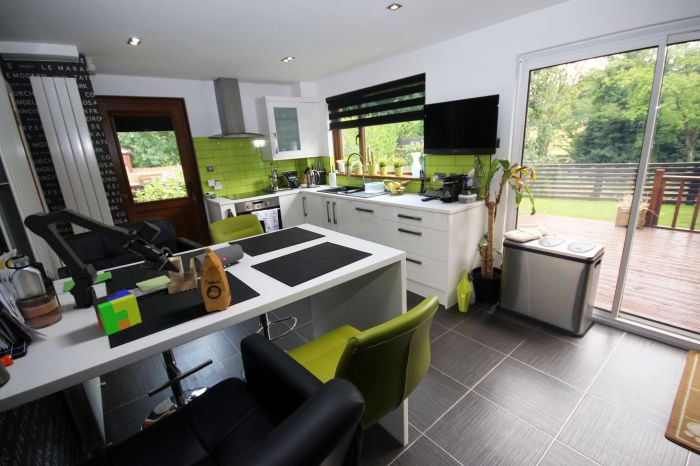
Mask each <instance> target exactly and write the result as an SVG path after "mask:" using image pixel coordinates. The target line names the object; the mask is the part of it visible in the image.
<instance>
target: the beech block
mask: <svg viewBox="0 0 700 466" xmlns="http://www.w3.org/2000/svg"><path fill="white" fill-rule="evenodd" d="M169 259H170V261H171V262H172V263H173V264H174V265H175V266H176V267H177V268H178V269H179V271H180V272H179V273H175V272H171V271H168V275H169V279H170V280H171V284H174V283H180V282H185V276H184V266H183V262H182V257H181V255H179V256H174V257H172V258H169Z"/></svg>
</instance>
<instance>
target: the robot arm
mask: <svg viewBox="0 0 700 466" xmlns="http://www.w3.org/2000/svg"><path fill="white" fill-rule="evenodd" d="M60 222H61V223H62V222H68V223H71V224H73V225H75V226H78V227H81V228H83V229H85V230H88V231H90V232H93V233H96V234H98V235H100V236H102V237H103V238H105V239H106V240H107V241H109V242H111V243H112V244H114V245H116V246H122V245H123V246H122V247H121V248H122V250H123V254H127V253H128V252H129V251H131V252H133V253H135V255H138V256H140V257H141V260H143V261H144V262H143V265H140V266H139V268H138V272H139V273H140V274H142V275H151V274H150V273H151V272H153V273H156V274H158V272H161V271H167V272H169V271H171V272H175V273H179V272H180V271H179V269H178V268H177V267H176V266H175V265H174V264H173V263H172V262H171V261H170V259H169V258H172V257H175V256H174V254H173V253H172V251H170V249H171V248H169V247H167V246H165V247H164V246H163V247H162V248H161V249H159V248H157V247H155V245H154V244H153V243H152V244H150V243H148V242H153V240H154V239H155V238H156V237H157V236H158V235H159V234H160V233H161V230H162V229H160V227H158V225H156V224H153V223H150V222H147V221H145V220H144V221H143V223H142V224H141V226H140V227H139V229H131V230H130V229H127V228H124V227H120V226H118V225H117V226H116V225H111V224H106V223H103V222H101V221H100V220H99V221H98V220H96V219H94V218H92V217H89V216H87V215H84V214H82V213H80V212H77V211H75V210H73V209H71V208H64V209H62V210H57V211H56V210H53V211H51V212H44V211H37V212H35V213H32V214H30V215H27V216H26V217H25V218H24V220H23V225H24V226H25V227H26V229H28V230H29V231H30V232H31V233H32V234H34V235H36V236H37V237H39V238H41V239H42V240H43V241H44V242H45V243H46V244H47V245H48V246H49V247H50V249H51V250H52V251H53V253H55V254H56V256H57V257H58V258H59V259H60V261H61V262H62V263H63V264H64V266H65V267H66V268H67V269H68V270H69V273H70V277H71V280H72V281H73V282H72V283H74V285H73V286H72V287H71V288H70V289H69V290H68V293H69V294H70V295H71V296H73V299H74V303H75V305H74V306H72V309H85V308H87V309H88V308H90V307H92V306H94V305H93V302H92V300H93V299H97V298H98V297H97V293H96V290H95V287H94V284H95V282H96V281H97V280H98V277H99V275H98V273H99V272H98V269H97V270H96V269H95V267H94V265H93V263H89V264H86V263H83V262H82V260H81V259H80V258H79V257H78V255H77V254H76V252H74V251H73V249H72V248H71V247H70V246H69V245H68V243H67V242H66V240H64V238H63V237H62V235H60V233H59V231H58V229H57V226H56V225H57V224H56V223H60Z"/></svg>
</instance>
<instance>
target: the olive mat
mask: <svg viewBox="0 0 700 466" xmlns="http://www.w3.org/2000/svg"><path fill="white" fill-rule="evenodd" d="M169 284H170V277H168V276H167V275H165V274H164V275H161V276H158V277H157V276H156V277H154V278H151V279H146V280H142V281H140V282H137V283H135V285H136V286H137V287H138V288H139V289H140V290H141V291H142V292H143V293H145V292H149V291H151V290H154V289H158V288H161V287H164V286H167V285H169Z"/></svg>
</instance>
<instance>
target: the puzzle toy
mask: <svg viewBox="0 0 700 466" xmlns="http://www.w3.org/2000/svg"><path fill="white" fill-rule="evenodd" d="M92 302H93V305H92V306H93V308H94V309H93V310H94V312H95V314H96V318H97V322H98V325H99V327H100V328H101V330H103V332H105V334H106V335H107V336H109V335H112V334H115V333H117V332H121V331H122V330H125V329H128V328H130V327H132V326H135V325H137V323H138V324H140V323H142V322H143V321H142V318H141V317H142V316H141V313H140V309H139V306H138V301H137V298H136V295H134V294H133V293H132V292H130V291H129V290H127V289H122V290H119V291H115V292H113V293H110V294H106V295H104V296H100V297H97V299H93V300H92Z"/></svg>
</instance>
